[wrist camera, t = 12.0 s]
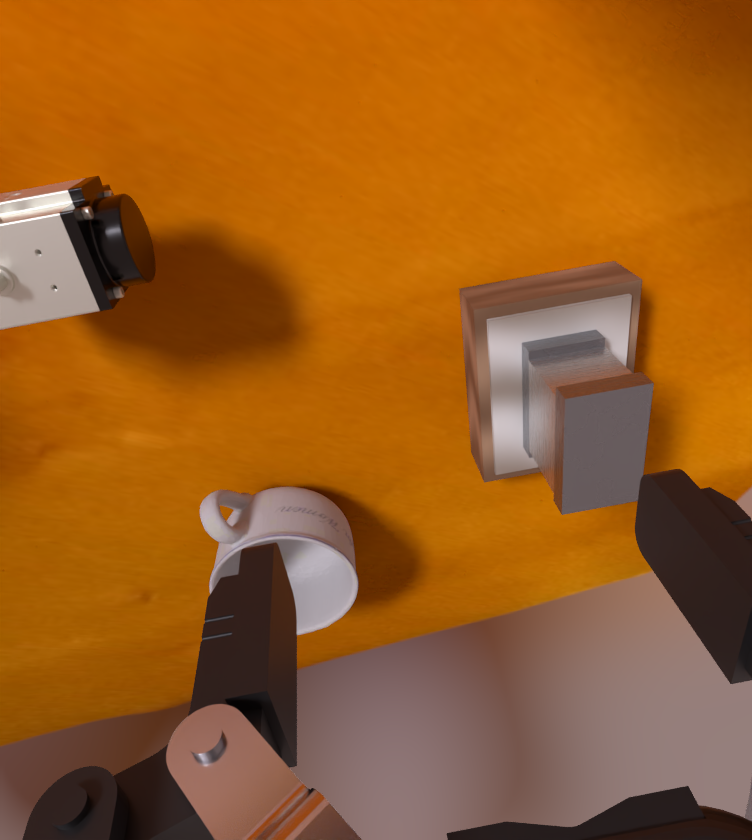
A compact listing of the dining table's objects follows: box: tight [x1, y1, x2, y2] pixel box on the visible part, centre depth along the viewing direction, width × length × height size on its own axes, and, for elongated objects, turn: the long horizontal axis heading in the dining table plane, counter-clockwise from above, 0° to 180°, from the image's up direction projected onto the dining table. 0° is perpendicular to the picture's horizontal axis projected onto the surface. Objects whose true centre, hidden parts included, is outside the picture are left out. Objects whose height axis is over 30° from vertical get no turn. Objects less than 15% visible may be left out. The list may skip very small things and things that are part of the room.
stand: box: [459, 261, 642, 482], centre depth 44 cm, size 14×11×4 cm
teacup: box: [200, 487, 358, 635], centre depth 47 cm, size 14×11×8 cm
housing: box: [522, 330, 654, 515], centre depth 39 cm, size 8×5×8 cm, turn 8°
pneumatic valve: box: [0, 176, 155, 330], centre depth 32 cm, size 6×12×12 cm, turn 99°
